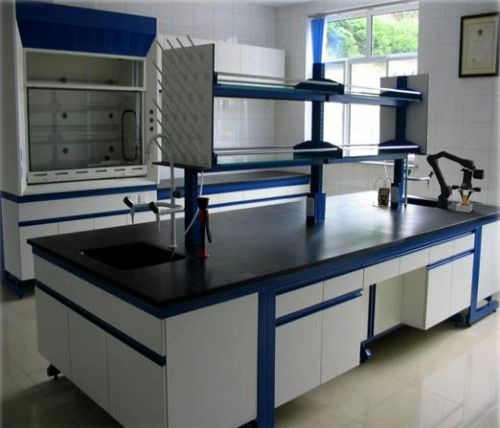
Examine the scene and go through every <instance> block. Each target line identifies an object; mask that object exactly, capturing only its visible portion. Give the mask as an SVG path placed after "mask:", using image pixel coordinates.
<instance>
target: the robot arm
mask: <svg viewBox="0 0 500 428" xmlns="http://www.w3.org/2000/svg"><path fill="white" fill-rule="evenodd" d="M441 158H444V159H447V160H449V161H453V162H455V163H456V164H458V165H460V166H461V167H462V168H461V169H460V172H463V173H462V174H463V175H462V181H461V184H460V186H459V184H452V185H448V184H447V182H446V180H445V177H444V175H443V173H442V170H441V169H440V168H441V167H439V159H441ZM426 163H428V165H429V166H430V167H431V168H432V170H433V172H434V175H435V178H436V180H437V182H438V184H439V188H440V190H439V191H440V194H439V195H437V206H436V208H437V209H444V210H445V209H448V208H449V204H450V201H449V198H450V197H451V196H452V195H453V191H455V190H457V192H459V194H460V198H461V201H462V200H463V195H464V191H468V193H467V195H468V197H467V202H468V200H470V197H471V195H472V194H474V193H481V192H482V187H480V186H475V187H473V183H472V181H473V180H472V179H474V180H482V181H483V180H485V169H482V168H481V169H478V168H477V167H476V165H475V162H474V160H473V159H469V158H463V157H460V156H457V155H455V154H453V153H450V152H447V151H446V150H441V151H440V152H437V153H435V154H434V153H433V154H429V155H427V156H426Z"/></svg>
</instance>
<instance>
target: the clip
mask: <svg viewBox="0 0 500 428" xmlns="http://www.w3.org/2000/svg"><path fill="white" fill-rule="evenodd" d="M467 202H470V204H475V205H480V206H483V204H484V203H483V202H481V201H475V200H472V199H471V200H470V199H468V201H467Z"/></svg>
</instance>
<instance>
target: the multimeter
mask: <svg viewBox="0 0 500 428" xmlns="http://www.w3.org/2000/svg"><path fill="white" fill-rule="evenodd" d="M379 179H380V177H378V178H377V179H376V181H375V184H374V186H373V189H375V188H376V187H375V186H376V183H377V182H378V180H379ZM381 179H382V180H383V183H384V186H383V187H382V186H381V187H378V191H377V192H378V193H377V206H376V205H375V203H373V205H372V206H374V207H376V208H378V207H379V208H382V207H385V208H389V207H390V206H389V205H390V198H393V196H392V194H391V190H392V188H393V186H391V187H387V183H386V181H387V179H388V178H386V179H385V180H384V178H383V177H381ZM389 180H390V182H391V183H393V182H392V180H391V178H389ZM390 195H391V197H390Z"/></svg>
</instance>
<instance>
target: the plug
mask: <svg viewBox="0 0 500 428" xmlns="http://www.w3.org/2000/svg"><path fill="white" fill-rule="evenodd" d="M467 197H468V194H463V200H462V199H461V201H459V202H458V203H459V204H462V205H466V206H467V205H469V204H471V203H470V202H468V201H467Z"/></svg>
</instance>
